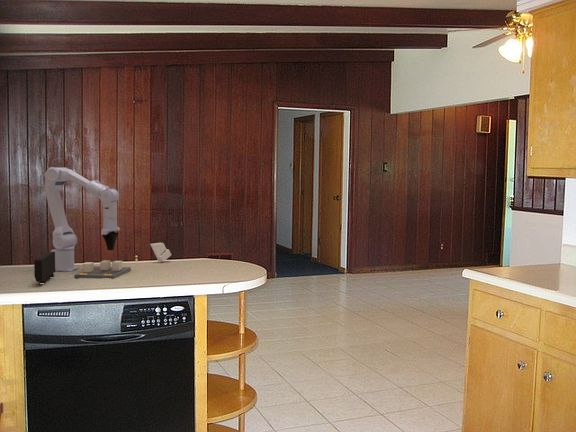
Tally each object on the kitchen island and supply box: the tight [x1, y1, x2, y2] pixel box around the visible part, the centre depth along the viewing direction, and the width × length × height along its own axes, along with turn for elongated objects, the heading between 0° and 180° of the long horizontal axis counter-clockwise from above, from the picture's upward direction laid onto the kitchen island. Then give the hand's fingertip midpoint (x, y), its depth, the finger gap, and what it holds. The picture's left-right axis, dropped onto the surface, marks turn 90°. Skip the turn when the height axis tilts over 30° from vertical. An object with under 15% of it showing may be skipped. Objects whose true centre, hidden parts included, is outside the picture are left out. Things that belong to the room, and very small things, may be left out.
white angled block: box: [149, 242, 172, 263], centre depth 271 cm, size 4×10×9 cm, turn 143°
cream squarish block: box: [111, 260, 123, 271], centre depth 238 cm, size 3×4×4 cm
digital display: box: [33, 251, 56, 284], centre depth 221 cm, size 21×3×10 cm, turn 10°
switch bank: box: [74, 265, 132, 280], centre depth 237 cm, size 16×20×2 cm
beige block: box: [82, 261, 95, 273], centre depth 233 cm, size 3×4×4 cm
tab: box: [99, 259, 112, 270], centre depth 238 cm, size 3×4×4 cm
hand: (110, 249), depth 241 cm, fingers closed
